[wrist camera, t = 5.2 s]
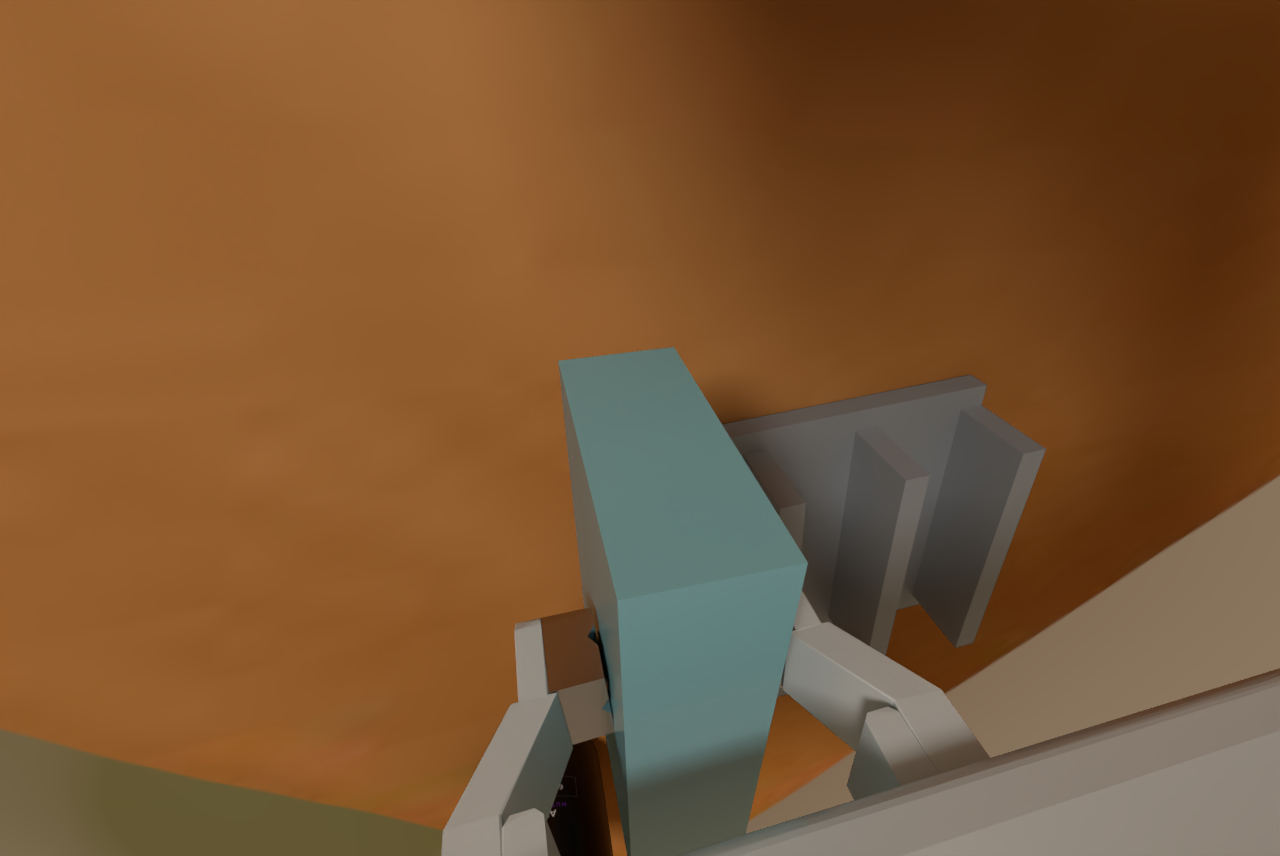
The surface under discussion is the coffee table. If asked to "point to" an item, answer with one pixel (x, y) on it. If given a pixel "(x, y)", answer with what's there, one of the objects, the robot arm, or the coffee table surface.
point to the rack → (896, 502)
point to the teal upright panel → (677, 595)
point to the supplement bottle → (581, 807)
